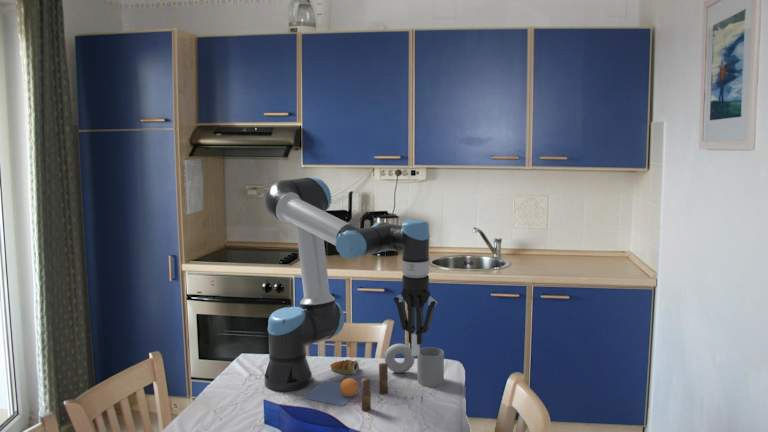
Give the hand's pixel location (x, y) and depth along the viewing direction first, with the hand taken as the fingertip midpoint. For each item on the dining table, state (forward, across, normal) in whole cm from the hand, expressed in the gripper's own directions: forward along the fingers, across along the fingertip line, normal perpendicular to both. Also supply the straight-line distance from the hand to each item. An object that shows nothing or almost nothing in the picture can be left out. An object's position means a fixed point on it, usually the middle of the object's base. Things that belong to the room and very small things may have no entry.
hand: (415, 354), depth 191 cm
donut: (+17, -14, +23) cm, 32 cm away
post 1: (+16, -13, -6) cm, 22 cm away
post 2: (+16, -13, +6) cm, 22 cm away
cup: (+17, -2, +20) cm, 26 cm away
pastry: (+17, -32, +18) cm, 40 cm away
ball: (+14, -22, 0) cm, 26 cm away
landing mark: (+16, -27, 0) cm, 32 cm away
